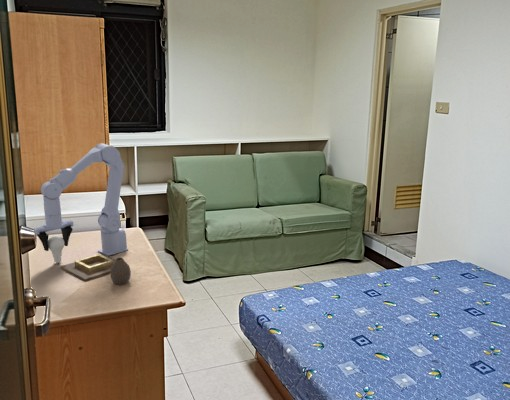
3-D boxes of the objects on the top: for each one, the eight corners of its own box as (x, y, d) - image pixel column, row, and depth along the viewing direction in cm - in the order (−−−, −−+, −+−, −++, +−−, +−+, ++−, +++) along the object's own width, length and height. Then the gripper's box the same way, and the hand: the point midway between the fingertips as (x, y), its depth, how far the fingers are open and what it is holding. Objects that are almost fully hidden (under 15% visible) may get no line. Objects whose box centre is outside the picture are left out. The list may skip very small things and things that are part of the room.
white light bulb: (60, 266, 187) (57, 238, 185) (46, 265, 188) (43, 237, 186) (69, 260, 193) (66, 233, 190) (55, 259, 194) (52, 232, 192)
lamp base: (103, 255, 198) (103, 253, 198) (129, 267, 187) (128, 265, 187) (60, 268, 185) (60, 266, 185) (85, 281, 174) (85, 279, 174)
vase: (109, 280, 175) (107, 256, 173) (129, 277, 177) (128, 254, 175) (112, 287, 169) (110, 263, 166) (132, 284, 171) (131, 260, 169)
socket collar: (99, 258, 193) (99, 253, 193) (114, 265, 186) (114, 260, 186) (74, 266, 186) (74, 261, 185) (89, 273, 179) (88, 268, 178)
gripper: (65, 208, 194) (68, 241, 197) (29, 215, 183) (32, 250, 187) (75, 211, 189) (77, 245, 193) (37, 219, 179) (41, 254, 182)
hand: (56, 247), depth 189 cm, fingers open, 7 cm apart
